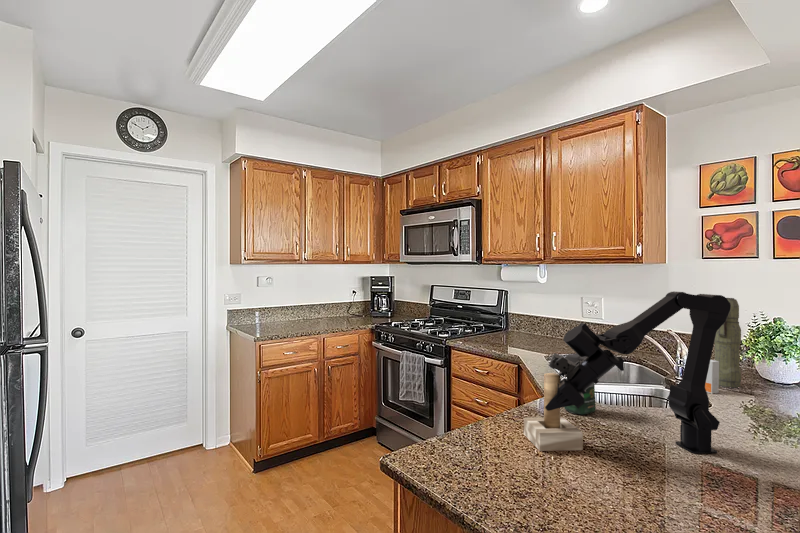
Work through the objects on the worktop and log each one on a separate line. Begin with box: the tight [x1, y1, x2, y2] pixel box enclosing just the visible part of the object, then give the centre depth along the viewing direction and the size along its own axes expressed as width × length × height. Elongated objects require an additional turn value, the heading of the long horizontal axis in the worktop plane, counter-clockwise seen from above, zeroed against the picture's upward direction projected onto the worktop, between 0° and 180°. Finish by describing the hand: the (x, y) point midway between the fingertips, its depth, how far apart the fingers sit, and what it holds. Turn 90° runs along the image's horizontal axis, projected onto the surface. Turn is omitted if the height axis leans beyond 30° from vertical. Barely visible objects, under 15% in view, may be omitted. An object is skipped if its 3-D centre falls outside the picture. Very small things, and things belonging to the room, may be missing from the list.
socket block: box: [523, 416, 584, 452], centre depth 112 cm, size 11×11×4 cm
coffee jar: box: [563, 352, 596, 415], centre depth 137 cm, size 10×8×19 cm
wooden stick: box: [543, 372, 561, 429], centre depth 112 cm, size 4×4×16 cm
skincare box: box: [705, 359, 720, 395], centre depth 161 cm, size 6×4×12 cm
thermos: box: [714, 297, 742, 389], centre depth 171 cm, size 9×12×35 cm
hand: (546, 406), depth 112 cm, fingers closed on wooden stick, 4 cm apart
